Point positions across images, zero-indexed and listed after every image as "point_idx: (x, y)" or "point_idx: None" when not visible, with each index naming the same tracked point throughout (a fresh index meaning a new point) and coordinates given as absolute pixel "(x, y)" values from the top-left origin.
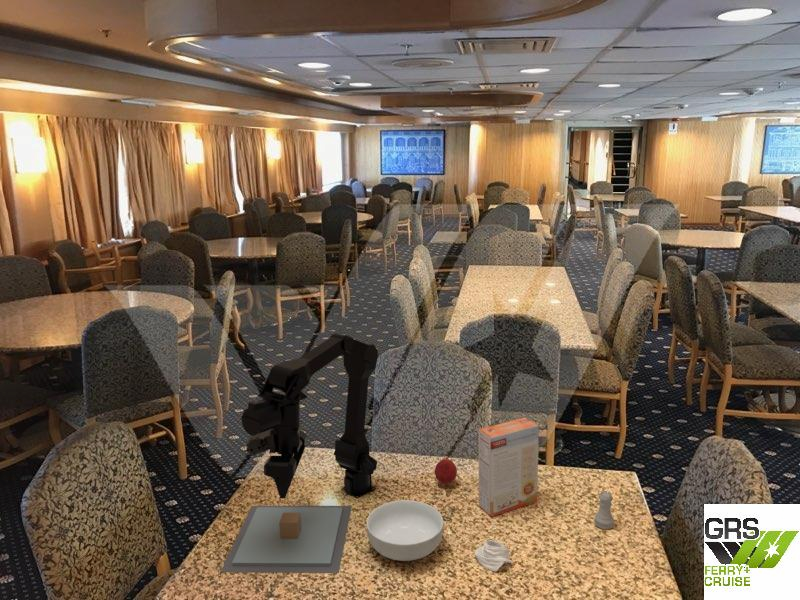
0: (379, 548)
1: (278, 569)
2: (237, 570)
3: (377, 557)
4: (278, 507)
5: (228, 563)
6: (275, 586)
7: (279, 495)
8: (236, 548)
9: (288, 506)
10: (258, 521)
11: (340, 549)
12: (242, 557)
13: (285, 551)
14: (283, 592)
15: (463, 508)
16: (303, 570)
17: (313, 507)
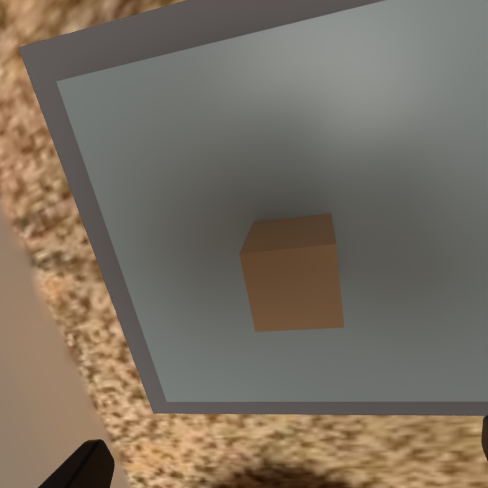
0: None
1: (110, 260)
2: (54, 117)
3: (246, 477)
4: None
5: (73, 55)
6: (57, 268)
7: (62, 465)
8: (169, 35)
9: None
10: (379, 53)
11: (251, 407)
12: (99, 111)
13: (181, 266)
14: (47, 295)
15: None
16: (132, 331)
17: None
